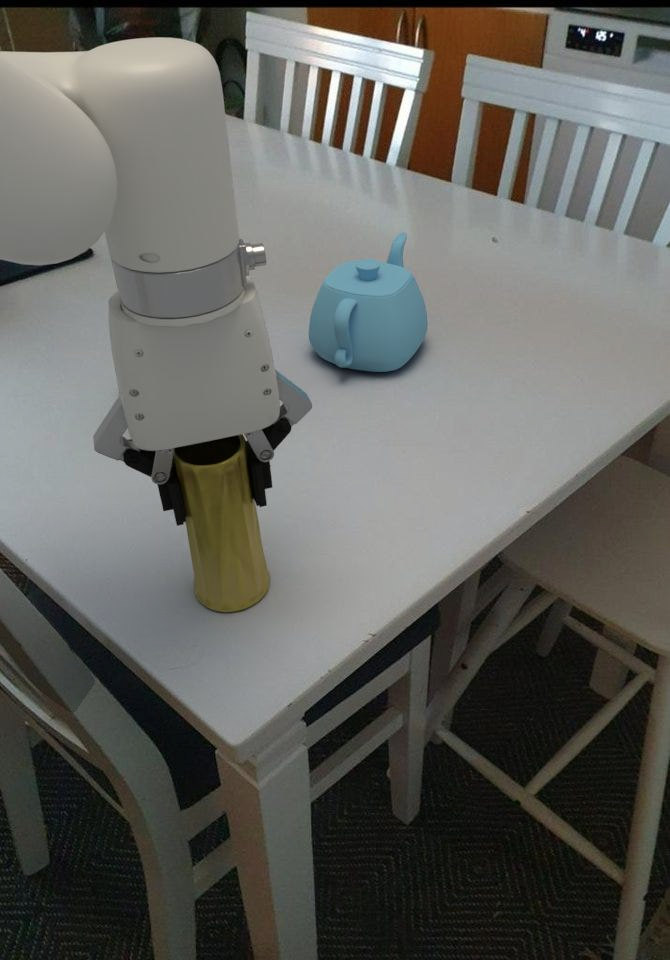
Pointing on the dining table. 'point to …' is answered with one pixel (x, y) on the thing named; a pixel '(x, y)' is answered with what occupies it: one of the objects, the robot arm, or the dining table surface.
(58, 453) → the dining table surface
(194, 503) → the vase
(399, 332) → the teapot
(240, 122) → the dining table surface
